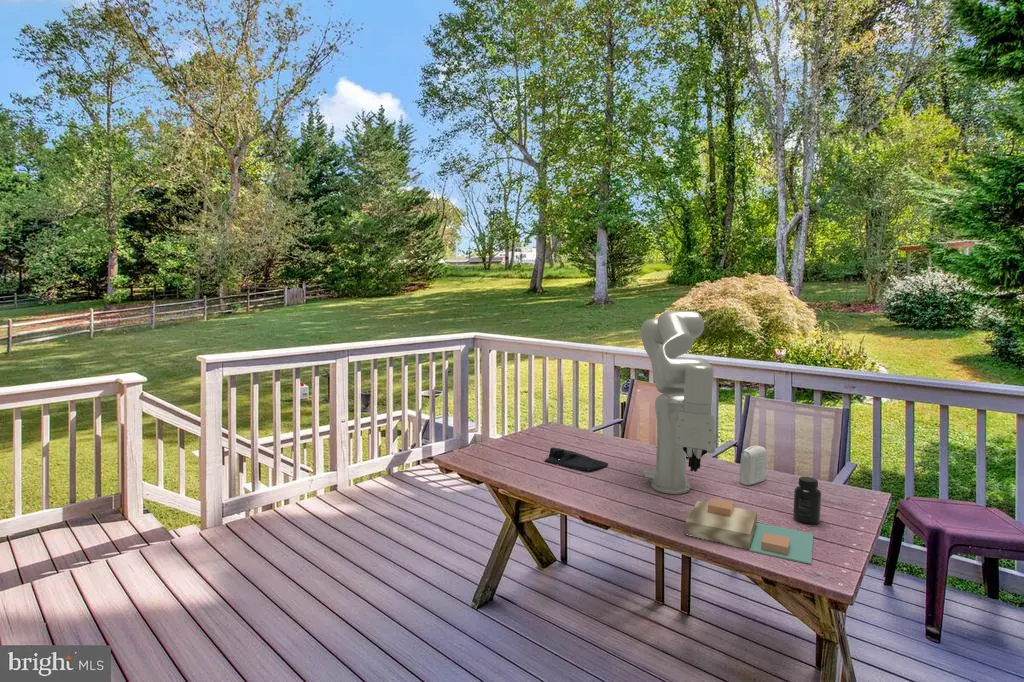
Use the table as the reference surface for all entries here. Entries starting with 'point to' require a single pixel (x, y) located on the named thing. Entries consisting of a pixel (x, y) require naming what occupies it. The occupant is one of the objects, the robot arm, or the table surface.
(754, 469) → the photo printer
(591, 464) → the black folded cloth
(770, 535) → the tile
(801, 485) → the supplement bottle
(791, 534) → the rubber mat
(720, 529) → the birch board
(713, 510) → the tile
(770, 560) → the table surface
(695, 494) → the table surface
